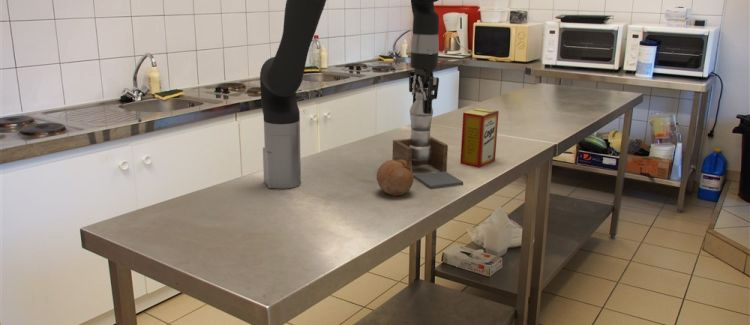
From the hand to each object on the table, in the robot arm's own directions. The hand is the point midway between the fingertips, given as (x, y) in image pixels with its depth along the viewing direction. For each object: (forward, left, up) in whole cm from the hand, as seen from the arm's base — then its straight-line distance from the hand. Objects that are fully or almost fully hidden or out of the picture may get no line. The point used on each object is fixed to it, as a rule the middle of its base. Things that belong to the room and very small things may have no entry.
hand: (421, 110), depth 174 cm
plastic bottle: (0, 0, -15) cm, 15 cm away
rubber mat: (0, -11, -17) cm, 21 cm away
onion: (-15, -16, -18) cm, 28 cm away
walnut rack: (0, 0, -17) cm, 17 cm away
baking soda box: (+20, +1, -18) cm, 27 cm away
